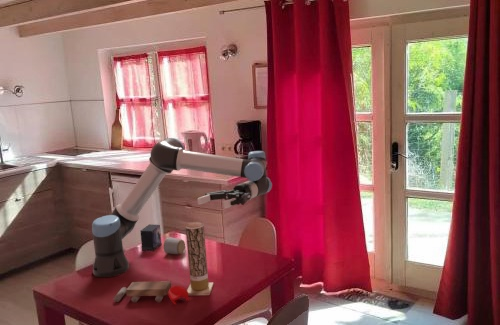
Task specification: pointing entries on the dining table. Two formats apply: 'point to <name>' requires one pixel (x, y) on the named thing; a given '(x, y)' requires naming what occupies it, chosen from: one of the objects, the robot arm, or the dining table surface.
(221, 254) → the dining table surface
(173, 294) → the red rounded piece
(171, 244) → the ceramic mug
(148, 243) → the small box
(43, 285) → the dining table surface
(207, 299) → the dining table surface
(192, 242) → the bark-patterned canister
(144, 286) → the brown toy skateboard
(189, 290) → the coaster
